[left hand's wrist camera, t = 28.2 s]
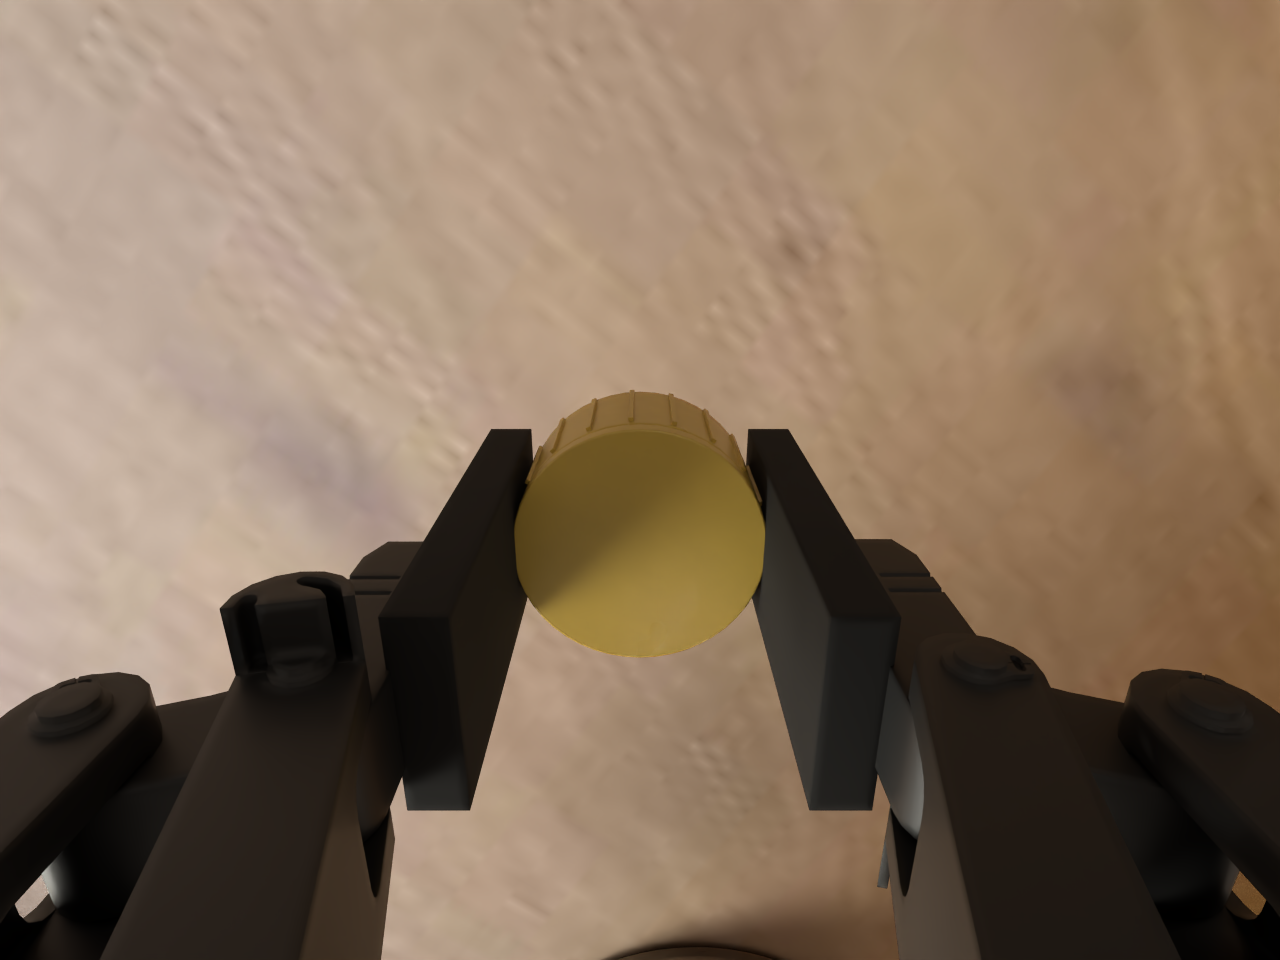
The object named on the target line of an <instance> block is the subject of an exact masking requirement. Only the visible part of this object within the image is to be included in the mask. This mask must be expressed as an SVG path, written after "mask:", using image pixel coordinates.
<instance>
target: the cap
mask: <svg viewBox="0 0 1280 960" xmlns="http://www.w3.org/2000/svg"><path fill="white" fill-rule="evenodd" d="M525 484H527V487H526V489H525V492H524V494H523V497H522V500H521V502H520V505H519V508H518V511H517V515H516V518H515V522H514V536H515V550H516V565H517V574H518V578H519V580H520V583H521V585H522V587H523V589H524V591H525V593H526V595H527V596H528V598H529V600H530V601H531V603H532V604H533V606H534V607H535V608H536V610H537V611H538V612H539V613H540V614H541V616H542V617H543V618H544V619H545V620H546V621H548V622H549V623H550V624H551V625H552V626H553V627H554V628H555V629H557V630H558V631H559V632H561V633H562V634H564V635H565V636H566V637H568V638H570V639H572V640H574V641H575V642H577V643H579V644H581V645H584V646H586V647H589V648H591V649H593V650H597V651H600V652H604V653H607V654H612V655H618V656H624V657H656V656H662V655H668V654H673V653H676V652H680V651H683V650H686V649H689V648H691V647H694V646H696V645H699V644H701V643H703V642H704V641H706V640H708V639H710V638H712V637H713V636H715V635H716V634H718V633H719V632H720V631H722V630H723V629H725V628H726V627H727V626H728V625H729V624H730V623H731V622H732V621H733V620H735V619H736V618H737V617H738V615H739V614H740V613H741V612H742V611H743V609H744V608H745V607H746V606H747V604H748V603H749V601H750V599H751V598H752V596H753V595H754V593H755V591H756V589H757V587H758V584H759V582H760V580H761V577H762V572H763V559H764V544H765V519H764V516H763V513H762V509H761V506H762V499H761V496H760V494H759V491H758V488H757V486H756V483H755V481H754V478H753V475H752V473H751V470H750V468H749V465H748V466H746V465H745V463H744V460H743V458H742V456H741V453H740V451H739V448H738V445H737V442H736V440H735V437H734V435H733V434H731V435H729V434H728V432H727V431H726V430H725V429H724V428H723V427H722V426H721V424H719V423H718V422H717V421H716V420H715V419H714V418H713V417H711V416H710V415H709V412H708V410H706V409H704V410H701V409H700V408H698V407H697V406H695V405H692V404H690V403H688V402H686V401H684V400H681V399H678V398H675V397H674V396H673V394H670V393H669V395H664V394H659V393H650V392H634V390H630V393H622V394H616V395H611V396H608V397H605V398H602V399H599V400H597V399H596V398H595V399H593V400H592V402H591V403H590V404H587V405H585V406H583V407H582V408H580V409H579V410H577V411H576V412H574V413H572V414H571V415H570V416H569V417H567V418H566V419H564V418H562V419H561V420H560V422H559V425H558V427H557V428H556V429H555V430H554V431H553V432H552V434H551V435H550V436H549V438H548V439H547V441H546V442H545V444H544V445H543V447H542V446H539V448H538V450H537V453H536V455H535V458H534V460H533V463H532V466H531V468H530V471H529V473H528V476H527V478H526V481H525Z"/></svg>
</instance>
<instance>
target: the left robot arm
mask: <svg viewBox="0 0 1280 960" xmlns="http://www.w3.org/2000/svg"><path fill="white" fill-rule="evenodd" d="M532 463H533V452H532V434H531V429H491V430H490V432H489V434H488V435H487V437H486V439H485V440H484V442H483V444H482V445H481V447H480V449H479V450H478V452H477V454H476V455H475V457H474V459H473V460H472V462H471V464H470V465H469V467H468V469H467V470H466V472H465V474H464V475H463V477H462V479H461V480H460V482H459V483H458V485H457V487H456V488H455V490H454V492H453V493H452V495H451V497H450V498H449V500H448V502H447V503H446V505H445V507H444V508H443V510H442V512H441V513H440V515H439V517H438V518H437V520H436V522H435V523H434V525H433V527H432V528H431V530H430V531H429V533H428V535H427V536H426V538H425V540H424V541H423V542H387V543H386V544H384V545H382V546H381V547H379V548H378V549H376V550H374V551H373V552H371V553H370V554H368V555H366V556H365V557H363V559H362V560H361V561H360V563H359V564H358V565H357V567H356V568H355V569H354V571H353V572H352V573H351V575H350V579H346V578H345V577H343V576H341V575H337V574H333V573H328V572H297V573H291V574H286V575H280V576H275V577H272V578H269V579H267V580H264V581H261V582H258V583H255V584H252V585H250V586H249V587H247V588H245V589H243V590H241V591H240V592H238V593H236V594H234V595H233V596H231V597H230V598H229V600H228V601H227V602H226V603H225V604H224V605H223V606H222V607H221V608H220V613H221V617H222V621H223V625H224V629H225V633H226V637H227V641H228V645H229V649H230V653H231V658H232V662H233V666H234V670H235V674H236V676H235V678H234V680H233V682H232V685H231V687H230V689H229V691H227V692H223V693H219V694H215V695H211V696H206V697H201V698H196V699H191V700H186V701H181V702H175V703H170V704H165V705H160V706H156V705H155V701H154V698H153V694H152V691H151V688H150V684H148V683H147V682H146V681H145V680H143V679H142V678H141V677H140V676H138V675H132V674H126V673H120V672H115V673H105V674H91V675H86V676H81V677H79V678H78V679H75V678H73V679H70V680H67V681H64V682H61V683H58V684H57V685H55V686H54V687H52V688H49V689H47V690H45V691H42V692H40V693H38V694H35V695H33V696H32V697H30V698H29V699H27V700H26V701H24V702H23V703H21V704H19V705H18V706H16V707H15V708H13V709H12V710H10V711H9V712H7V713H6V714H5V715H4V716H2V717H1V718H0V960H381V954H382V945H383V937H384V928H385V920H386V911H387V903H388V894H389V885H390V877H391V868H392V860H393V851H394V843H395V836H394V830H393V823H392V817H391V811H390V805H391V803H392V800H393V798H394V795H395V793H396V790H397V788H398V785H399V783H400V780H401V778H403V785H404V791H405V798H406V804H407V810H470V808H471V805H472V801H473V797H474V794H475V790H476V786H477V783H478V779H479V775H480V772H481V768H482V764H483V760H484V757H485V753H486V749H487V746H488V742H489V738H490V735H491V731H492V727H493V723H494V720H495V716H496V712H497V709H498V705H499V701H500V698H501V694H502V690H503V686H504V683H505V679H506V675H507V672H508V668H509V664H510V661H511V657H512V653H513V649H514V646H515V642H516V638H517V635H518V631H519V627H520V624H521V620H522V616H523V612H524V609H525V605H526V601H527V598H528V596H527V595H526V593H525V591H524V589H523V587H522V585H521V583H520V580H519V578H518V574H517V565H516V550H515V536H514V522H515V518H516V515H517V511H518V508H519V505H520V502H521V500H522V497H523V494H524V492H525V489H526V487H527V484H525V481H526V478H527V476H528V473H529V471H530V468H531V466H532ZM748 465H749V468H750V470H751V473H752V475H753V478H754V481H755V483H756V486H757V488H758V491H759V494H760V496H761V499H762V506H761V509H762V513H763V516H764V519H765V544H764V559H763V572H762V577H761V580H760V582H759V584H758V587H757V589H756V591H755V593H754V595H753V596H752V599H753V603H754V607H755V611H756V614H757V618H758V622H759V625H760V629H761V633H762V636H763V640H764V644H765V648H766V651H767V655H768V659H769V662H770V666H771V670H772V673H773V677H774V681H775V685H776V688H777V692H778V696H779V699H780V703H781V707H782V710H783V714H784V718H785V722H786V725H787V729H788V733H789V736H790V740H791V744H792V747H793V751H794V755H795V759H796V762H797V766H798V770H799V773H800V777H801V781H802V784H803V788H804V792H805V796H806V799H807V803H808V807H809V810H872V807H873V801H874V794H875V788H876V781H877V775H879V778H880V780H881V783H882V785H883V788H884V790H885V793H886V795H887V798H888V800H889V803H890V811H889V817H888V823H887V829H886V835H885V841H884V847H883V853H882V859H881V866H880V872H879V878H878V885H877V887H881V888H887V887H888V881H889V876H890V884H891V892H892V901H893V909H894V918H895V927H896V935H897V944H898V952H899V960H1280V714H1279V713H1278V712H1277V711H1275V710H1274V709H1273V708H1272V707H1270V706H1268V705H1267V704H1265V703H1264V702H1262V701H1261V700H1259V699H1258V698H1256V697H1254V696H1253V695H1251V694H1250V693H1248V692H1247V691H1244V690H1242V689H1240V688H1237V687H1235V686H1233V685H1230V684H1228V683H1226V682H1225V681H1223V680H1221V679H1219V678H1216V677H1212V676H1209V675H1206V674H1205V676H1204V675H1202V673H1197V672H1192V671H1181V670H1170V669H1157V670H1151V671H1145V672H1141V673H1140V674H1139V675H1138V676H1136V677H1135V678H1134V679H1133V680H1131V682H1130V686H1129V689H1128V692H1127V696H1126V699H1125V702H1124V703H1121V702H1116V701H1111V700H1106V699H1101V698H1096V697H1091V696H1085V695H1080V694H1075V693H1070V692H1066V691H1062V690H1058V689H1054V688H1051V687H1050V685H1049V683H1048V681H1047V679H1046V677H1045V675H1044V674H1043V672H1042V671H1041V670H1040V669H1039V667H1038V666H1037V665H1036V664H1035V662H1034V661H1033V660H1032V659H1030V658H1029V657H1027V656H1026V655H1024V654H1023V653H1021V652H1020V651H1018V650H1017V649H1015V648H1014V647H1011V646H1009V645H1006V644H1004V643H1001V642H999V641H996V640H994V639H991V638H987V637H982V636H977V635H976V634H975V633H974V631H973V630H972V629H971V627H970V626H969V625H968V623H967V622H966V621H965V619H964V618H963V617H962V615H961V614H960V613H959V611H958V610H957V609H956V607H955V606H954V605H953V603H952V602H951V601H950V599H949V598H948V597H947V595H946V594H945V592H942V591H941V587H940V586H939V584H938V583H937V582H936V580H935V579H934V578H933V577H930V572H929V571H928V570H927V568H926V567H925V566H924V564H923V563H922V562H921V560H920V559H919V558H918V556H917V555H916V554H914V553H913V552H911V551H909V550H908V549H906V548H905V547H903V546H901V545H900V544H898V543H897V542H895V541H893V540H892V539H854V537H853V536H852V534H851V532H850V531H849V529H848V527H847V526H846V524H845V522H844V521H843V519H842V517H841V516H840V514H839V512H838V511H837V509H836V508H835V506H834V504H833V503H832V501H831V499H830V498H829V496H828V494H827V493H826V491H825V489H824V488H823V486H822V484H821V483H820V481H819V479H818V478H817V476H816V474H815V473H814V471H813V469H812V468H811V466H810V464H809V463H808V461H807V459H806V458H805V456H804V454H803V453H802V451H801V450H800V448H799V446H798V445H797V443H796V441H795V440H794V438H793V436H792V435H791V433H790V431H789V430H788V429H748V443H747V461H746V466H748ZM1239 871H1241V873H1242V874H1243V875H1244V876H1245V877H1246V878H1247V879H1248V880H1249V881H1250V882H1251V884H1252V885H1253V886H1254V887H1255V888H1256V889H1257V890H1258V891H1259V892H1260V893H1261V895H1262V896H1263V897H1264V898H1265V899H1266V902H1265V905H1264V907H1263V909H1262V911H1261V913H1260V914H1259V915H1256V914H1254V913H1253V912H1252V911H1251V910H1250V909H1249V908H1248V907H1246V906H1245V905H1244V904H1243V903H1242V901H1241V900H1240V899H1239V898H1238V897H1237V896H1236V895H1235V893H1234V892H1233V891H1232V888H1233V886H1234V883H1235V881H1236V878H1237V876H1238V873H1239ZM40 875H42V877H43V880H44V882H45V885H46V887H47V890H48V892H49V894H48V895H47V896H46V897H45V898H44V899H43V901H42V902H41V903H40V904H39V905H38V906H37V908H35V909H34V910H33V911H32V912H30V913H29V914H28V915H27V916H26V917H24V918H22V917H21V916H20V915H19V913H18V911H17V909H16V906H15V903H16V902H17V901H18V900H19V899H20V897H21V896H22V895H23V894H24V893H25V892H26V891H27V890H28V889H29V887H30V886H31V885H32V884H33V883H34V882H35V881H36V880H37V879H38V877H39V876H40ZM618 960H773V959H770V958H767V957H764V956H760V955H756V954H752V953H748V952H743V951H737V950H731V949H722V948H709V947H684V948H670V949H661V950H655V951H649V952H644V953H639V954H635V955H631V956H627V957H624V958H621V959H618Z"/></svg>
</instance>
